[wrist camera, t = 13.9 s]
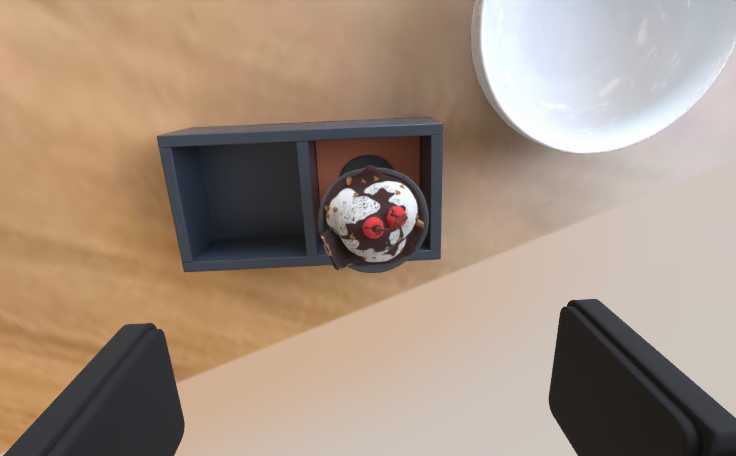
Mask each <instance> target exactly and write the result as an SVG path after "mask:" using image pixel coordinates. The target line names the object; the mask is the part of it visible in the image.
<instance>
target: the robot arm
mask: <svg viewBox="0 0 736 456" xmlns="http://www.w3.org/2000/svg"><path fill="white" fill-rule="evenodd" d="M549 405H550V409H551V412H552V414H553V416H554V418H555V419H556V421H557V423H558V424H559V426H560V427H561V429H562V431H563V432H564V434H565V435H566V437H567V439H568V440H569V442H570V443H571V445H572V447H573V448H574V450H575V451H576V453H577V455H578V456H736V418H735V417H734V416H732V415H731V414H730V413H729V412H728V411H727V410H726V409H724V408H723V407H722V406H721V405H720V404H719V403H717V402H716V401H715V400H714V399H713V398H712V397H710V396H709V395H708V394H707V393H706V392H705V391H703V390H702V389H701V388H700V387H699V386H697V385H696V384H695V383H694V382H693V381H692V380H691V379H690V378H688V377H687V376H686V375H685V374H684V373H682V372H681V371H680V370H679V369H678V368H677V367H676V366H674V365H673V364H672V363H671V362H670V361H669V360H668V359H666V358H665V357H664V356H663V355H662V354H661V353H659V352H658V351H657V350H656V349H655V348H654V347H652V346H651V345H650V344H649V343H648V342H646V341H645V340H644V339H643V338H642V337H641V336H640V335H638V334H637V333H636V332H635V331H634V330H633V329H631V328H630V327H629V326H628V325H627V324H626V323H625V322H623V321H622V320H621V319H620V318H619V317H618V316H616V315H615V314H614V313H613V312H612V311H610V309H608V308H607V307H606V306H605V305H604V304H602V303H601V302H600V301H599V300H597V299H587V300H571V301H570V302H569V303H568V304H567V307H563V308H562V309H561V312H560V318H559V325H558V333H557V340H556V348H555V355H554V362H553V370H552V378H551V385H550V392H549ZM183 433H184V418H183V413H182V409H181V404H180V400H179V395H178V391H177V387H176V382H175V378H174V374H173V369H172V365H171V360H170V356H169V352H168V347H167V343H166V339H165V335H164V332H163V331H162V330H161V329H157V328H156V326H155V325H154V324H152V323H147V324H129V325H124V326H123V327H122V328H121V329H120V330H119V331H118V332H117V333H116V334H115V335H114V336H113V338H112V339H111V340H110V341H109V342H108V343H107V344H106V345H105V346H104V347H103V348H102V349H101V350H100V352H99V353H98V354H97V355H96V356H95V357H94V358H93V359H92V360H91V361H90V362H89V363H88V365H87V366H86V367H85V368H84V369H83V370H82V371H81V372H80V373H79V374H78V375H77V376H76V378H75V379H74V380H73V381H72V382H71V383H70V384H69V385H68V386H67V387H66V388H65V389H64V390H63V392H62V393H61V394H60V395H59V396H58V397H57V398H56V399H55V400H54V401H53V402H52V403H51V405H50V406H49V407H48V408H47V409H46V410H45V411H44V412H43V413H42V414H41V415H40V416H39V418H38V419H37V420H36V421H35V422H34V423H33V424H32V425H31V426H30V427H29V428H28V429H27V431H26V432H25V433H24V434H23V435H22V436H21V437H20V438H19V439H18V440H17V441H16V442H15V443H14V445H13V446H12V447H11V448H10V449H9V450H8V451H7V452H6V453H5V454H4V455H3V456H174V454H175V452H176V450H177V448H178V446H179V444H180V442H181V439H182V437H183Z"/></svg>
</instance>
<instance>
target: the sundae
mask: <svg viewBox="0 0 736 456" xmlns="http://www.w3.org/2000/svg"><path fill="white" fill-rule="evenodd" d="M428 224H429V212H428V208H427V204H426V201H425V198H424V196H423V193H422V192H421V190H420V189H419V187H418V186H417V185H416V184H415V183H414V181H413V180H411V179H410V178H409V177H407V176H406V175H404V174H402V173H399V172H397V171H395V170H394V168H393V167H392V166H391V165H390V164H389V163H388V162H387V161H386V160H385V159H383V158H381V157H378V156H375V155H362V156H359V157H356V158H354V159H352V160H351V161H350V162H348V163H347V164H346V165H345V167H344V168H343V170H342V171H341V174H340V176H339V178H337V179H336V180H335V181H334V182H333V183H332V184H331V185H330V187H329V188H328V189H327V191H326V192H325V195H324V197H323V199H322V202H321V205H320V208H319V215H318V226H319V233H320V236H321V239H322V242H323V245H324V247H325V250H326V252H327V254H328V256H329V257H330V259H331V261H332V263H333V266H334V268H335V269H337V270H340V269H342V268H344V267H347V266H348V267H350V268H352V269H354V270H357V271H360V272H367V273H380V272H385V271H388V270H391V269H393V268H395V267H398V266H400V265H401V264H403V263H404V262H405V261H407V260H408V259H409V258H410V257H411V256H413V255H414V254H415V253H416V252H417V251H418V249H419V248H420V246H421V245H422V243H423V241H424V239H425V237H426V235H427V231H428Z"/></svg>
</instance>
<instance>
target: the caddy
mask: <svg viewBox="0 0 736 456" xmlns="http://www.w3.org/2000/svg"><path fill="white" fill-rule="evenodd" d="M442 134H443V123H440V122H438V121H436V120H433V119H431V118H429V117H417V118H395V119H372V120H350V121H328V122H305V123H283V124H261V125H238V126H216V127H194V128H187V129H183V130H179V131H175V132H171V133H167V134H163V135H159V136H157V140H158V145H159V147H160V148H159V150H160V155H161V160H162V165H163V170H164V175H165V180H166V185H167V190H168V195H169V199H170V204H171V209H172V214H173V219H174V224H175V229H176V234H177V239H178V244H179V249H180V254H181V259H182V262H183V263H182V264H183V269H184V272H199V271H219V270H238V269H258V268H278V267H297V266H317V265H333V263H332V261H331V259H330V257H329V256H328V254H327V252H326V250H325V247H324V245H323V242H322V239H321V236H320V233H319V226H318V215H319V208H320V205H321V202H322V199H323V197H324V195H325V192H326V191H327V189H328V188H329V187H330V185H331V184H332V183H333V182H334V181H335V180H336V179H337V178H339V176H340V174H341V171H342V170H343V168H344V167H345V165H346V164H347V163H348V162H350V161H351V160H352V159H354V158H356V157H359V156H362V155H375V156H378V157H381V158H383V159H385V160H386V161H387V162H388V163H389V164H390V165H391V166H392V167H393V168H394V170H395V171H397V172H399V173H402V174H404V175H406V176H407V177H409V178H410V179H411V180H413V181H414V183H415V184H416V185H417V186H418V187H419V189H420V190H421V192H422V193H423V196H424V198H425V201H426V204H427V208H428V212H429V224H428V231H427V235H426V237H425V239H424V241H423V243H422V245H421V246H420V248H419V249H418V251H417V252H416V253H415V254H414V255H413V256H411V257H410V258H409V259H408V260H407V261H416V260H435V259H441V250H440V249H441V205H442V146H443V135H442Z"/></svg>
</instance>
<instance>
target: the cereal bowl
mask: <svg viewBox="0 0 736 456" xmlns="http://www.w3.org/2000/svg"><path fill="white" fill-rule="evenodd" d="M470 39H471V53H472V59H473V66H474V68H475V72H476V75H477V80H478V81H479V83H480V87H481V89H482V90H483V93H484V95H485V96H486V99H487V100H488V101H489V103H490V105H491V107H492V108H493V109H494V111H495V112H496V113H497V114H498V115H499V117H501V118H502V119H503V121H505V122H506V123H507V124H508V125H509V126H510V127H511V128H513V129H514V130H515V131H516V132H518V133H519V134H520V135H522V136H524V137H525V138H527V139H529V140H531V141H533V142H535V143H537V144H539V145H542V146H544V147H547V148H550V149H552V150H556V151H561V152H565V153H570V154H600V153H606V152H611V151H616V150H620V149H623V148H626V147H629V146H632V145H635V144H637V143H639V142H642V141H644V140H646V139H648V138H650V137H652V136H654V135H655V134H657V133H659V132H661V131H662V130H664V129H665V128H667V127H668V126H670V125H671V124H672V123H674V122H675V121H676V120H677V119H679V118H680V117H681V116H682V115H684V114H685V113H686V112H687V111H688V110H689V109H690V108H691V107H692V106H693V105H694V104H695V103H696V102H697V101H698V100H699V99H700V98H701V96H702V95H703V94H704V93H705V92H706V91H707V89H708V88H709V87H710V86H711V84H712V83H713V82H714V80H715V79H716V78H717V76H718V75H719V73H720V72H721V70H722V68H723V67H724V65H725V63H726V62H727V60H728V58H729V56H730V54H731V52H732V50H733V48H734V46H735V43H736V0H475V3H474V6H473V13H472V21H471V37H470Z"/></svg>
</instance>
